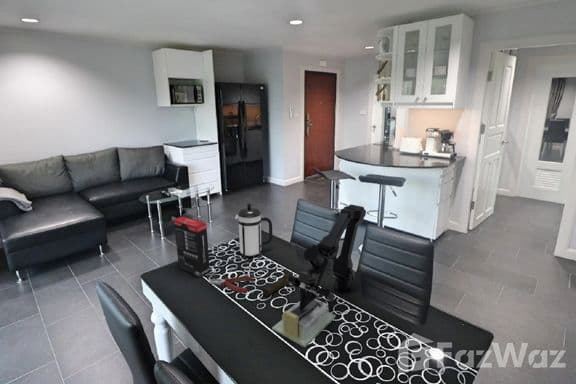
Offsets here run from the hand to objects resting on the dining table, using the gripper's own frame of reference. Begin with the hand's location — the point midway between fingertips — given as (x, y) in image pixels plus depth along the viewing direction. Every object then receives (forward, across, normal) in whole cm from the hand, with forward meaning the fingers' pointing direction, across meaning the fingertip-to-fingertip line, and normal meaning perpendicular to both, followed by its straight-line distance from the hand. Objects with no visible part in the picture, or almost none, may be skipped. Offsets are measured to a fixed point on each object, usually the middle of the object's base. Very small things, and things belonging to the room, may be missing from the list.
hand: (300, 309), depth 117 cm
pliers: (+2, -43, +10) cm, 44 cm away
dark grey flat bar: (-1, 0, +3) cm, 3 cm away
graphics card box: (+5, -67, +6) cm, 68 cm away
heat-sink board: (+3, 0, +8) cm, 8 cm away
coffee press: (-18, -58, +29) cm, 67 cm away
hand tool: (-6, -24, +17) cm, 30 cm away
